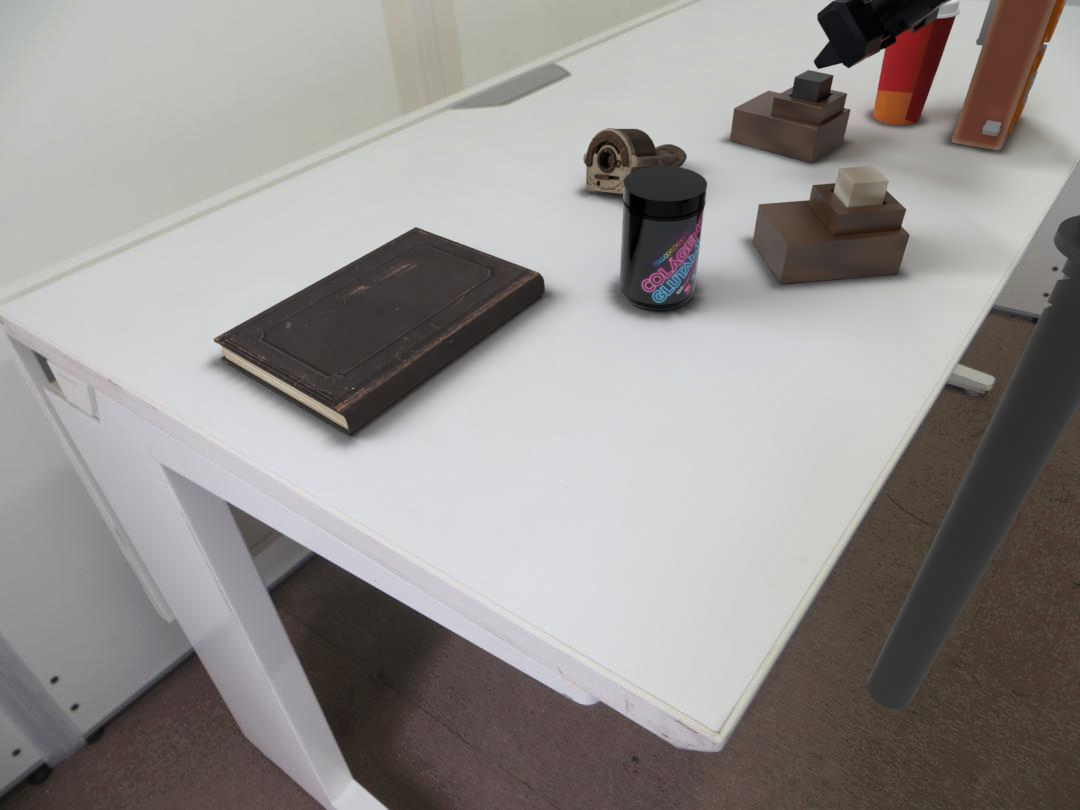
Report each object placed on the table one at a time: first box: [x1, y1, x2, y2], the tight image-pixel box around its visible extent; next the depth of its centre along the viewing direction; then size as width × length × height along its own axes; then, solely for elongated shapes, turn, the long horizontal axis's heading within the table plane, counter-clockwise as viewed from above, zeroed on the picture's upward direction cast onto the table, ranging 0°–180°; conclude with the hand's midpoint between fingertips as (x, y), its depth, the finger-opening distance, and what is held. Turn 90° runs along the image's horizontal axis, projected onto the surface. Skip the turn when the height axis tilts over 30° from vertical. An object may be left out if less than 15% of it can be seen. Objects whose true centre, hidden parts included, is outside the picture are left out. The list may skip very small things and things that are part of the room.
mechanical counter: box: [582, 127, 688, 195], centre depth 83 cm, size 7×13×10 cm
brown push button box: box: [752, 182, 911, 285], centre depth 70 cm, size 11×8×6 cm
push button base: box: [729, 86, 851, 164], centre depth 91 cm, size 11×8×6 cm
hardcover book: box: [213, 226, 546, 435], centre depth 64 cm, size 16×23×2 cm
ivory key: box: [834, 165, 890, 208], centre depth 67 cm, size 3×3×2 cm
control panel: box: [951, 0, 1068, 152], centre depth 87 cm, size 21×7×15 cm
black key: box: [791, 69, 834, 103], centre depth 88 cm, size 3×3×2 cm
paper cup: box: [872, 0, 961, 126], centre depth 93 cm, size 8×8×14 cm
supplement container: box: [619, 166, 708, 312], centre depth 65 cm, size 7×7×10 cm
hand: (816, 64), depth 86 cm, fingers closed
